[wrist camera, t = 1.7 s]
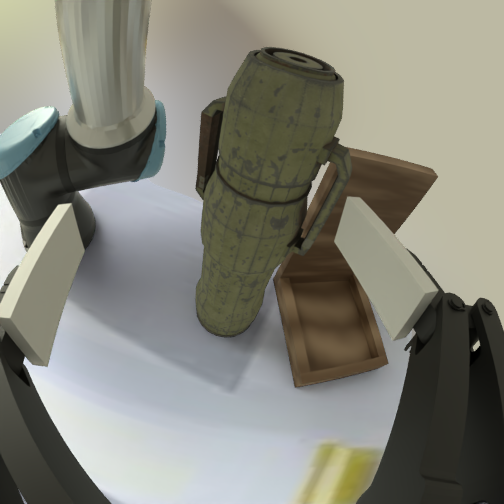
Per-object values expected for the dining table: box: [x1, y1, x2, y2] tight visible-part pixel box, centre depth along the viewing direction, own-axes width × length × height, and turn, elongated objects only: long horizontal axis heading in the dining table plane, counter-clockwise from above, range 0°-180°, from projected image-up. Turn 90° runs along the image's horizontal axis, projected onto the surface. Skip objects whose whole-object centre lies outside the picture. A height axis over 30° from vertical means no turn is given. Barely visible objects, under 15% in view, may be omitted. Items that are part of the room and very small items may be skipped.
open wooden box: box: [273, 147, 438, 388], centre depth 33 cm, size 18×15×26 cm
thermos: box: [196, 47, 352, 337], centre depth 28 cm, size 9×12×35 cm
